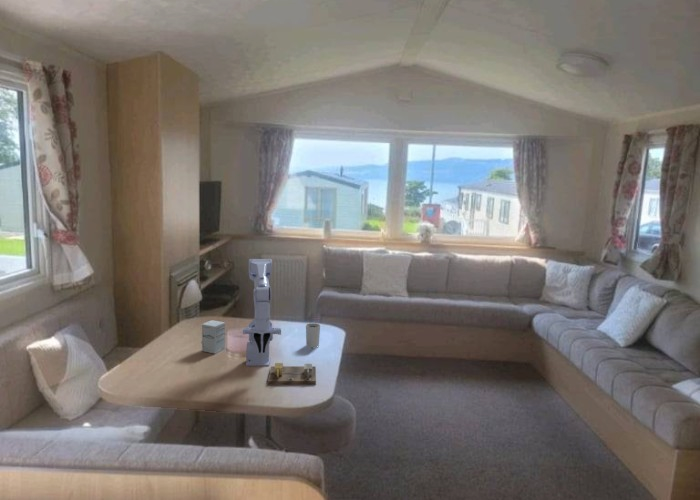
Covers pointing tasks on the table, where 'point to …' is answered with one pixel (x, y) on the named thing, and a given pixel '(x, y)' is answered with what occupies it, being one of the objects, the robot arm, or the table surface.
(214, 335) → the supplement box
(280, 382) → the gauge board
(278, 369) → the brass leg
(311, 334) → the drinking glass
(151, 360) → the table surface
